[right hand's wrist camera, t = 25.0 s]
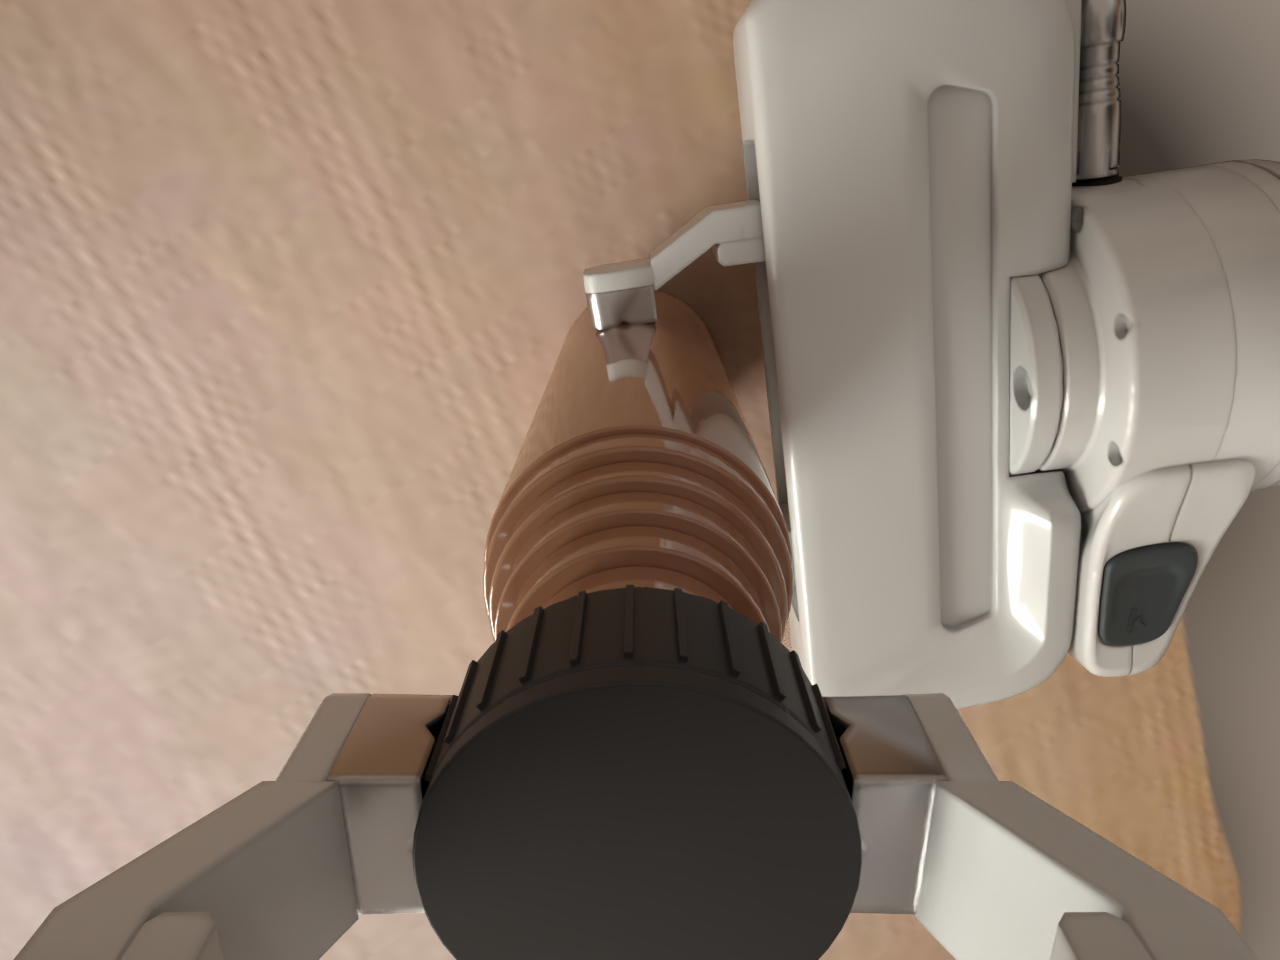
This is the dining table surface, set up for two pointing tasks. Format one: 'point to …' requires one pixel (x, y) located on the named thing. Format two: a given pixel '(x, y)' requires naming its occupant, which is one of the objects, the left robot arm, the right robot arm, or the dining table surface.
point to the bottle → (639, 481)
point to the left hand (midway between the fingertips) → (607, 418)
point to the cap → (637, 792)
